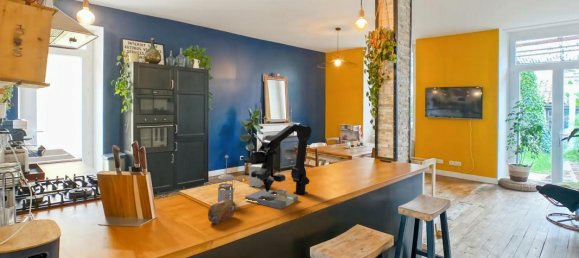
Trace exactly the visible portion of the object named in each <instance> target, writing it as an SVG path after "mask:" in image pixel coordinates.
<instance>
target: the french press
mask: <svg viewBox="0 0 579 258" xmlns="http://www.w3.org/2000/svg"><path fill="white" fill-rule="evenodd" d="M224 158H225V159H226V162H225V165H226V168H225V174H221V175H219V176H218V177H217V178H218V180H220V181H229V182H231V183H227V182H225V183H220V184H219V185H218V188H217V202H221V201H224V200H232V201H233V202H234V192H235V189H236V187H234V182H236V180H235V177H234V176H233V175H232V174H228V173H227V172H228V171H227V170H228V166H227V165H228V158H230V157H229V155H227V154H226V155H224ZM233 181H234V182H233Z"/></svg>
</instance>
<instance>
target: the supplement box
mask: <svg viewBox="0 0 579 258" xmlns="http://www.w3.org/2000/svg"><path fill="white" fill-rule="evenodd" d="M262 165H263V164H256V165H252V164H251V165H250V166H249V173H248V174H249V177H248V187H252V186H255V187H254V188H261V187H262V186H263V185H264V183H263V181H262V180H260V179H257V177H251V173H252V172H253V171H256V170H258V171H259V170H260V169H261V166H262Z"/></svg>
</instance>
